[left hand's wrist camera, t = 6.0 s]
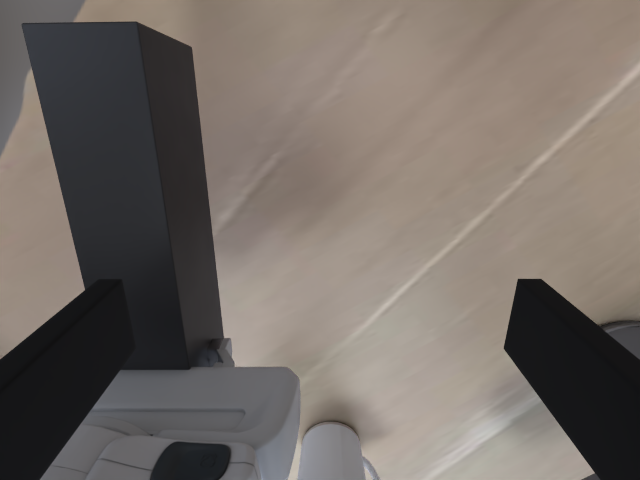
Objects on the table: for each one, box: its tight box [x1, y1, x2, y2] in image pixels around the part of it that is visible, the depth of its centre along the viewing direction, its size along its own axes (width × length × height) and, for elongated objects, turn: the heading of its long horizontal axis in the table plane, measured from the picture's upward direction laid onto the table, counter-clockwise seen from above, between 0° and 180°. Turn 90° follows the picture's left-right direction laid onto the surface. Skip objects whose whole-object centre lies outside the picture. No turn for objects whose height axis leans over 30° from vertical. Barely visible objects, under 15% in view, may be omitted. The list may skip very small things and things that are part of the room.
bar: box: [22, 22, 224, 370], centre depth 26 cm, size 25×6×8 cm, turn 1°
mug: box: [297, 422, 380, 480], centre depth 47 cm, size 11×9×10 cm
